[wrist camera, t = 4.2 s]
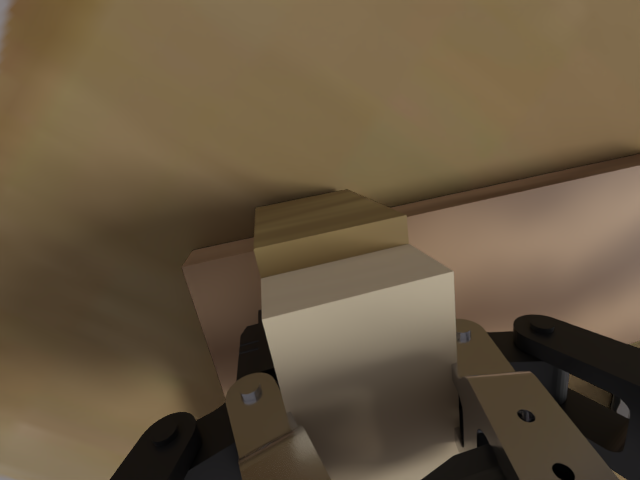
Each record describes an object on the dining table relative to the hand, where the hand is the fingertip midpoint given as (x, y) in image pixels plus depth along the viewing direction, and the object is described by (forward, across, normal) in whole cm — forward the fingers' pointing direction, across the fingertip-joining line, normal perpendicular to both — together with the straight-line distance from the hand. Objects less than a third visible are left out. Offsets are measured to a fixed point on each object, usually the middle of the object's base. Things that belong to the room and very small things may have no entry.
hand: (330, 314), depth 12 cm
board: (+3, -7, +2) cm, 8 cm away
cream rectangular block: (+2, 0, 0) cm, 2 cm away
